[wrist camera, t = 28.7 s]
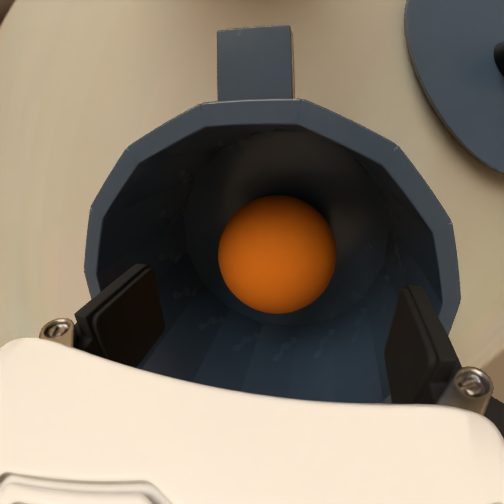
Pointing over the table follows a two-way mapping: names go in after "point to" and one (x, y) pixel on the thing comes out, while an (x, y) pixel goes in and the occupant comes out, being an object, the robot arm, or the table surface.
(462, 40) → the lid
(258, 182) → the pot
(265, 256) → the ball
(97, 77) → the table surface
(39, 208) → the table surface
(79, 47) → the table surface
